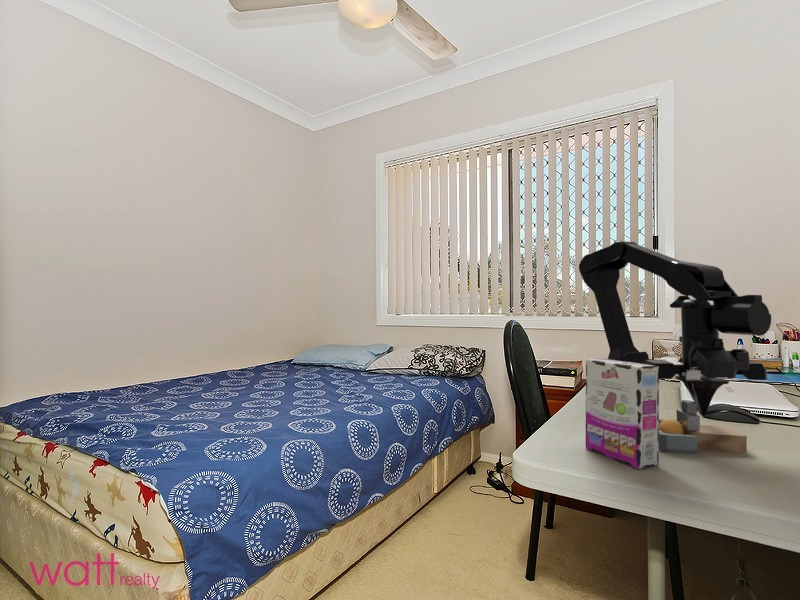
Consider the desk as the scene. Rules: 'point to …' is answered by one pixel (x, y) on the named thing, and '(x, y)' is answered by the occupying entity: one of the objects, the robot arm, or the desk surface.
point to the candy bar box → (623, 411)
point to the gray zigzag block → (689, 415)
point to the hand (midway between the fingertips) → (702, 415)
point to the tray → (677, 442)
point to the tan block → (719, 439)
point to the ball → (671, 427)
